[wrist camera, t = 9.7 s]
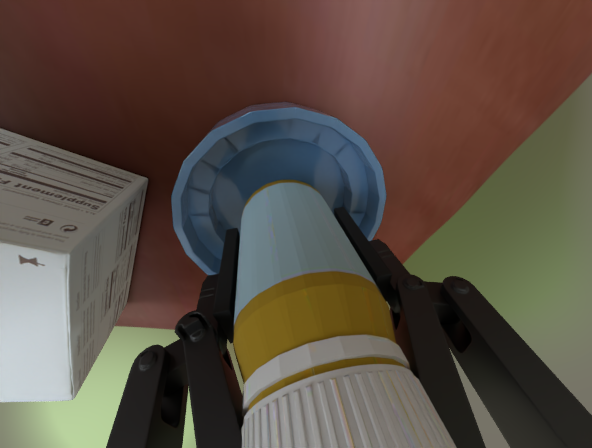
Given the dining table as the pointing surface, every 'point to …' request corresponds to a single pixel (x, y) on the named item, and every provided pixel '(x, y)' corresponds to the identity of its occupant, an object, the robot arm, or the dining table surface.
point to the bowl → (271, 173)
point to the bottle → (318, 336)
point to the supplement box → (60, 264)
